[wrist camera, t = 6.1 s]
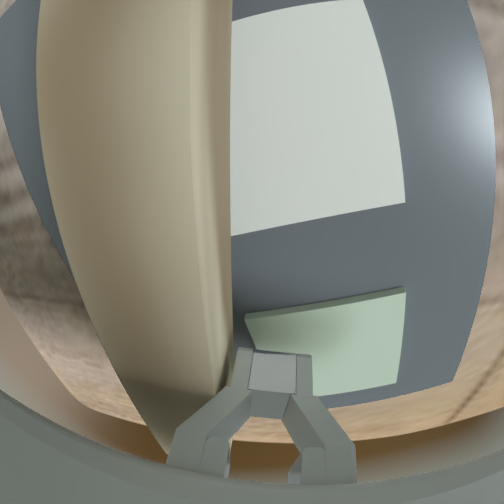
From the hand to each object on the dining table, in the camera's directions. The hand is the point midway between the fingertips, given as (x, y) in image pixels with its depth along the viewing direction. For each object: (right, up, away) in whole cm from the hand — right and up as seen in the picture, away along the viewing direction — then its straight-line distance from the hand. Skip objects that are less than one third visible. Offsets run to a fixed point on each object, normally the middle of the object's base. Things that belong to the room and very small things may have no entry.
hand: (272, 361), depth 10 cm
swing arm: (-3, +6, -2) cm, 7 cm away
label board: (-1, +6, +2) cm, 6 cm away
